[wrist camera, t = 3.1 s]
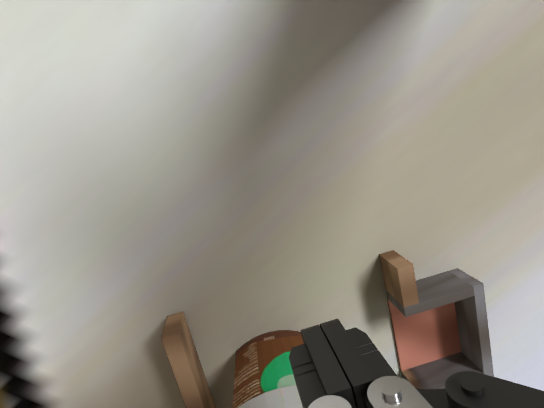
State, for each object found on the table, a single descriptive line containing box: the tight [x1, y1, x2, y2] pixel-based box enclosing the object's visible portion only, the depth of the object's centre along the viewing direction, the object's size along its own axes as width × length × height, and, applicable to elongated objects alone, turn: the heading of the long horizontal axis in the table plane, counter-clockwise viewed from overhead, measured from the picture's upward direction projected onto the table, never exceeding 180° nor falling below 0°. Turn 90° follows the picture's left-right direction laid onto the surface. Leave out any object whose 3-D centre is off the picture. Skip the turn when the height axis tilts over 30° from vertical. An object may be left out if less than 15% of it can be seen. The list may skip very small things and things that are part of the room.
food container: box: [232, 330, 304, 408], centre depth 25 cm, size 12×6×10 cm, turn 45°
